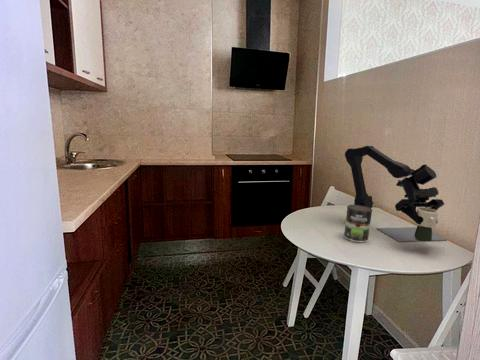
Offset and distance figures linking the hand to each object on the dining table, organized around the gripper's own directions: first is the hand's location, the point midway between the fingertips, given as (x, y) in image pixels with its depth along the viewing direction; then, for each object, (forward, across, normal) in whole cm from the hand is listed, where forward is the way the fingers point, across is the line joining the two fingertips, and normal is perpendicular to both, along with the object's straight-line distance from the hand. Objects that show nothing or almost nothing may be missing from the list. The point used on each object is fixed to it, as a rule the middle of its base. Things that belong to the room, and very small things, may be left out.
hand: (428, 223), depth 116 cm
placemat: (-4, +9, +22) cm, 24 cm away
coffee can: (-2, -20, +20) cm, 29 cm away
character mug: (+5, 0, +6) cm, 8 cm away
